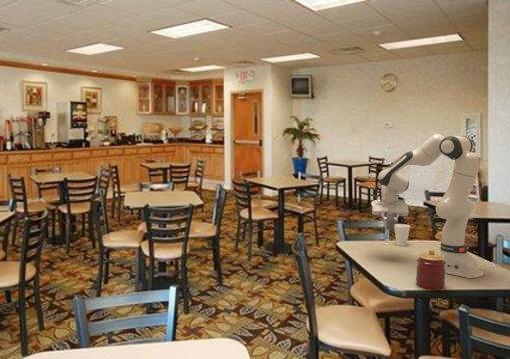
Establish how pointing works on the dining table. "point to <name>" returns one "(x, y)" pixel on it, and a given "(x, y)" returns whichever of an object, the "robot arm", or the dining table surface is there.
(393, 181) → the robot arm
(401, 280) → the dining table surface
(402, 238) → the foam cup
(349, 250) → the dining table surface
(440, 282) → the canister
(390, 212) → the connector casing
